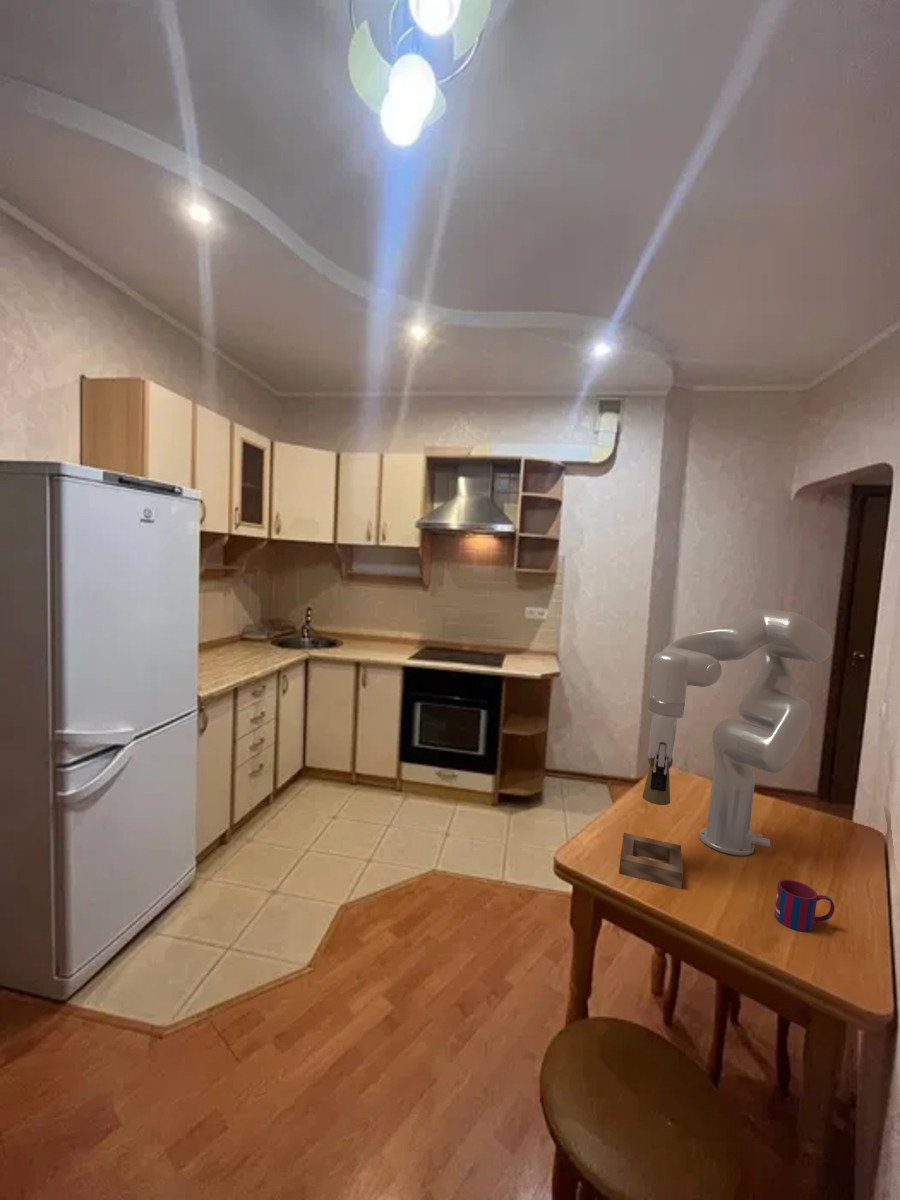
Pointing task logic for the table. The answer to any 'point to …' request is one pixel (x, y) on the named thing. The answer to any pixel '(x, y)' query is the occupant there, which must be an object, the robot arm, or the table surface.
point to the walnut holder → (648, 868)
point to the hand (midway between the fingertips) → (658, 785)
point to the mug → (798, 905)
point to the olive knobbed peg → (656, 795)
